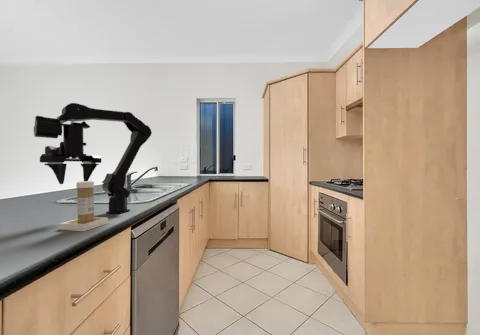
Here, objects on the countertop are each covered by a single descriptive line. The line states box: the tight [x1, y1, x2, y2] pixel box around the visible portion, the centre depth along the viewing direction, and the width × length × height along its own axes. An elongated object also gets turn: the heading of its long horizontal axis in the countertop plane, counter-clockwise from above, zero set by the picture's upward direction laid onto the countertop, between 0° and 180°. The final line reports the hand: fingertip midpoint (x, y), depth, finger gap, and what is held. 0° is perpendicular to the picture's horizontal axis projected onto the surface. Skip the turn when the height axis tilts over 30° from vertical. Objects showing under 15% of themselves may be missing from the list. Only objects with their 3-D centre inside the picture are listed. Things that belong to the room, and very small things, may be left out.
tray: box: [58, 216, 109, 232], centre depth 70 cm, size 9×9×2 cm
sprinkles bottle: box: [75, 180, 95, 224], centre depth 70 cm, size 5×5×14 cm
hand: (74, 182), depth 79 cm, fingers open, 9 cm apart
